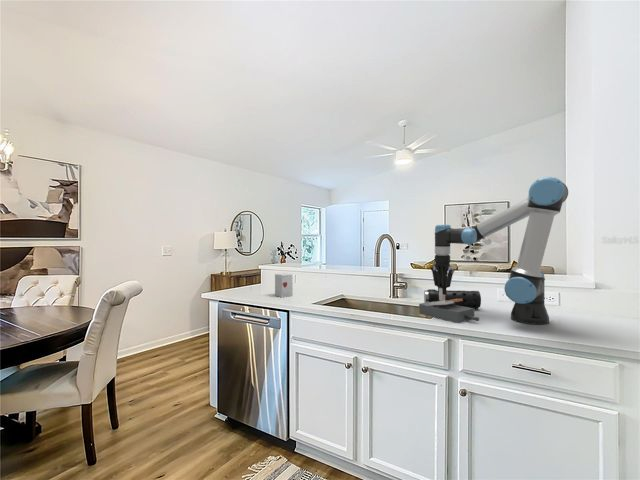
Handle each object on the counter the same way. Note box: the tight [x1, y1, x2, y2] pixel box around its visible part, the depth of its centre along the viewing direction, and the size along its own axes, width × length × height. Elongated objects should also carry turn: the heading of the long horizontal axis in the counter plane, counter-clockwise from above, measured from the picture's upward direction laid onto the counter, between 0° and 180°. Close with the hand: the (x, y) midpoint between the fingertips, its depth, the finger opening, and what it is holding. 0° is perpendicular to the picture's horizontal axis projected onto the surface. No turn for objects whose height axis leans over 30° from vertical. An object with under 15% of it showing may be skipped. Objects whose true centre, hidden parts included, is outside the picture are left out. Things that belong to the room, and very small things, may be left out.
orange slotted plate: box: [444, 298, 463, 302], centre depth 163 cm, size 10×6×1 cm, turn 32°
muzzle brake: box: [423, 288, 482, 310], centre depth 178 cm, size 10×28×10 cm, turn 78°
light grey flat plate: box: [429, 301, 454, 305], centre depth 159 cm, size 10×6×1 cm, turn 32°
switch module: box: [418, 301, 480, 324], centre depth 158 cm, size 28×13×6 cm, turn 32°
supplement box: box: [274, 272, 293, 298], centre depth 220 cm, size 9×9×15 cm
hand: (442, 300), depth 167 cm, fingers closed
